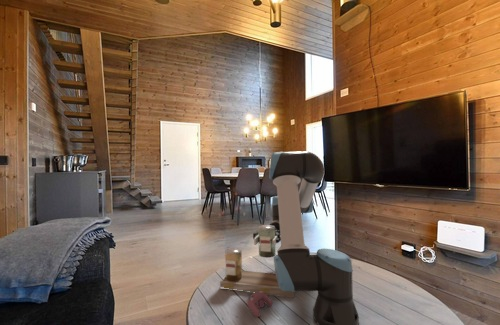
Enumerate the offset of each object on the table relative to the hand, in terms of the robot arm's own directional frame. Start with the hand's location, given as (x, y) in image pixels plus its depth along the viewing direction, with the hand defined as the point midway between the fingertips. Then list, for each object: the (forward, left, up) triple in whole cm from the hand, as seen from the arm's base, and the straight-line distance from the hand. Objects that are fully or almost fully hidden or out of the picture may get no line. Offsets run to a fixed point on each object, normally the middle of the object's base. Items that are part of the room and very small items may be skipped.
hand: (264, 242), depth 109 cm
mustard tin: (+10, +13, -18) cm, 24 cm away
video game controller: (-13, +5, -21) cm, 25 cm away
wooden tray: (+6, +1, -21) cm, 22 cm away
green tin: (+4, -2, -7) cm, 8 cm away
